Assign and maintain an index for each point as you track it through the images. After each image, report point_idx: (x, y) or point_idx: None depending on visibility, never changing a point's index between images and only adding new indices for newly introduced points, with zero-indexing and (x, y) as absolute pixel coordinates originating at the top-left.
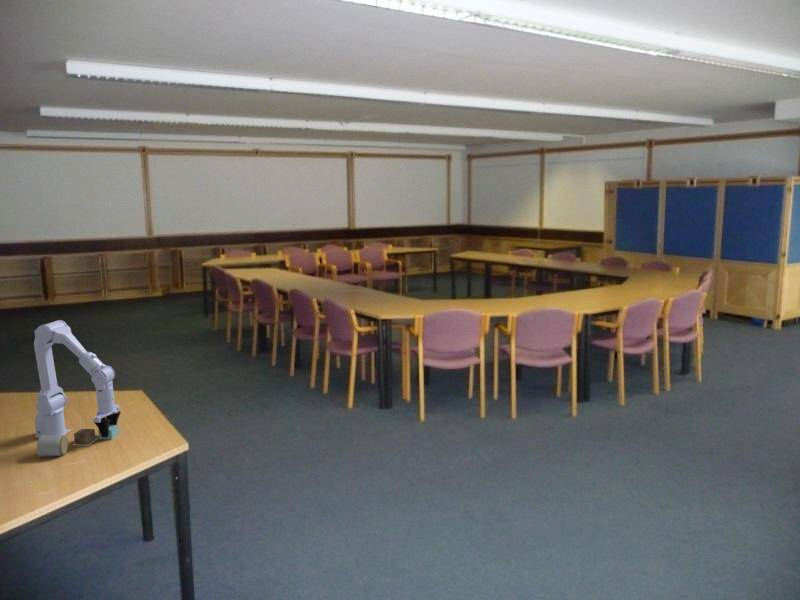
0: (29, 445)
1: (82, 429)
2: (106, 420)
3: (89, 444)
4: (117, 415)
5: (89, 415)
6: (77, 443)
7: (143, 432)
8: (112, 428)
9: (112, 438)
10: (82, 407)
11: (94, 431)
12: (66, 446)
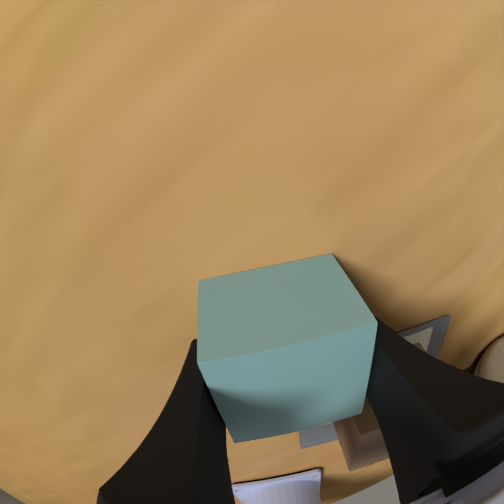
0: (377, 468)
1: (363, 462)
2: (488, 433)
3: (421, 334)
4: (190, 494)
5: (82, 486)
6: None
7: (59, 79)
8: (328, 344)
9: (330, 262)
10: (64, 500)
11: (355, 417)
12: (501, 366)
